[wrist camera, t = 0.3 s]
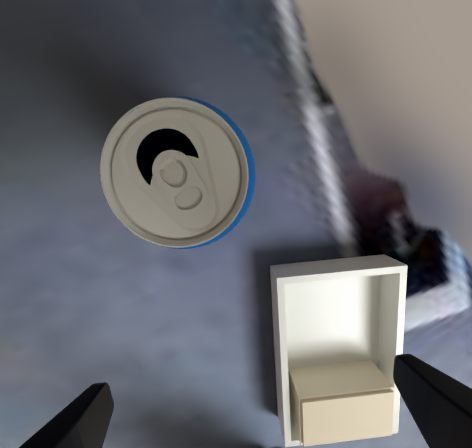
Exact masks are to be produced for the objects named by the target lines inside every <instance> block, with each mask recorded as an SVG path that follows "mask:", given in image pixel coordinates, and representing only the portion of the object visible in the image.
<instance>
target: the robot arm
mask: <svg viewBox="0 0 472 448" xmlns="http://www.w3.org/2000/svg"><path fill="white" fill-rule="evenodd" d="M393 380H394V383H395V385H396V387H397V389H398V391H399V393H400V394H401V396H402V398H403V400H404V402H405V404H406V406H407V408H408V409H409V411H410V413H411V415H412V417H413V419H414V421H415V422H416V424H417V426H418V428H419V430H420V432H421V434H422V435H423V437H424V439H425V441H426V443H427V444H428V446H429V447H430V448H472V389H471V388H469V387H468V386H466V385H464V384H462V383H460V382H459V381H457V380H455V379H453V378H452V377H450V376H448V375H446V374H445V373H443V372H441V371H439V370H438V369H436V368H434V367H432V366H430V365H429V364H427V363H425V362H423V361H422V360H420V359H418V358H416V357H415V356H413V355H411V354H400V355H396V356H395V358H394V368H393ZM113 408H114V403H113V398H112V395H111V391H110V387H109V385H108V383H106V382H104V383H95V384H92V385H91V386H90V387H89V388H87V389H86V390H85V391H84V392H83V393H82V394H81V395H79V396H78V397H77V398H76V399H75V400H74V401H72V402H71V403H70V404H69V405H68V406H67V407H65V408H64V409H63V410H62V411H61V412H60V413H58V414H57V415H56V416H55V417H54V418H53V419H52V420H50V421H49V422H48V423H47V424H46V425H45V426H43V427H42V428H41V429H40V430H39V431H38V432H36V433H35V434H34V435H33V436H32V437H31V438H29V439H28V440H27V441H26V442H25V443H24V444H23V445H21V446H20V447H19V448H102V446H103V442H104V439H105V436H106V432H107V429H108V426H109V423H110V419H111V416H112V413H113Z"/></svg>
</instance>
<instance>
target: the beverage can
mask: <svg viewBox="0 0 472 448" xmlns="http://www.w3.org/2000/svg"><path fill="white" fill-rule="evenodd" d="M100 178H101V184H102V188H103V192H104V195H105V197H106V200H107V202H108V204H109V206H110V208H111V209H112V211H113V213H114V214H115V215H116V217H117V218H118V219H119V220H120V222H121V223H122V224H123V225H124V226H125V227H126V228H128V229H129V230H130V231H131V232H133V233H134V234H136V235H137V236H139V237H140V238H142V239H144V240H146V241H148V242H151V243H154V244H157V245H160V246H164V247H169V248H176V249H190V248H196V247H201V246H204V245H207V244H210V243H212V242H215V241H217V240H219V239H220V238H222V237H223V236H225V235H226V234H227V233H229V232H230V231H231V230H232V229H233V228H234V227H235V226H236V225H237V224H238V223H239V222H240V220H241V219H242V217H243V216H244V215H245V213H246V211H247V209H248V207H249V205H250V202H251V199H252V196H253V192H254V186H255V166H254V159H253V156H252V152H251V149H250V147H249V144H248V142H247V140H246V138H245V137H244V135H243V133H242V131H241V130H240V129H239V128H238V126H237V125H236V124H235V123H234V122H233V121H232V120H231V119H230V118H229V117H228V116H227V115H226V114H224V113H223V112H222V111H221V110H219V109H217V108H216V107H214V106H212V105H210V104H208V103H206V102H203V101H201V100H197V99H193V98H188V97H180V96H179V97H164V98H159V99H154V100H150V101H147V102H144V103H142V104H140V105H138V106H136V107H134V108H133V109H131V110H130V111H128V112H127V113H126V114H124V115H123V116H122V117H121V118H120V119H119V120H118V121H117V123H116V124H115V125H114V126H113V128H112V129H111V131H110V133H109V134H108V136H107V138H106V141H105V143H104V146H103V150H102V153H101V160H100Z"/></svg>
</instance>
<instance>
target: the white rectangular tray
mask: <svg viewBox="0 0 472 448" xmlns="http://www.w3.org/2000/svg"><path fill="white" fill-rule="evenodd" d="M270 280H271V298H272V316H273V334H274V352H275V370H276V389H277V407H278V419H279V423H280V427H281V431H282V436H283V440H284V444H285V447H291V446H298V445H300V441H299V438H298V435H297V431H296V428H295V424H294V421H293V418H292V414H291V409H290V386H289V369H296V368H305V367H313V366H322V365H331V364H340V363H348V362H357V361H366V360H372V361H373V362H374V364H375V365H376V366H377V367H378V368H379V370H380V371H381V372H382V373H383V374H384V376H385V377H386V378H387V379H388V381H389V382H390V383H391V384H392V385H393V387H394V401H393V421H392V434H393V433H398V425H399V407H400V393H399V391H398V389H397V387H396V385H395V383H394V380H393V368H394V358H395V356H396V355H400V354H402V353H403V335H404V317H405V299H406V281H407V265H406V264H403V263H401V262H399V261H397V260H395V259H393V258H391V257H388V256H386V255H384V254H383V255H373V256H362V257H352V258H341V259H331V260H320V261H310V262H299V263H289V264H278V265H270Z"/></svg>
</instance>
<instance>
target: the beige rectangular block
mask: <svg viewBox="0 0 472 448" xmlns="http://www.w3.org/2000/svg"><path fill="white" fill-rule="evenodd" d="M289 386H290V409H291V414H292V418H293V421H294V424H295V428H296V431H297V435H298V438H299V441H300V445H303V446H304V447H305V446H313V445H320V444H328V443H336V442H344V441H352V440H359V439H367V438H375V437H383V436H391V435H392V421H393V401H394V387H393V385H392V384H391V383H390V382H389V381H388V379H387V378H386V377H385V376H384V374H383V373H382V372H381V371H380V370H379V368H378V367H377V366H376V365H375V364H374V362H373V361H372V360H366V361H357V362H348V363H340V364H331V365H322V366H313V367H305V368H296V369H289Z"/></svg>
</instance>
